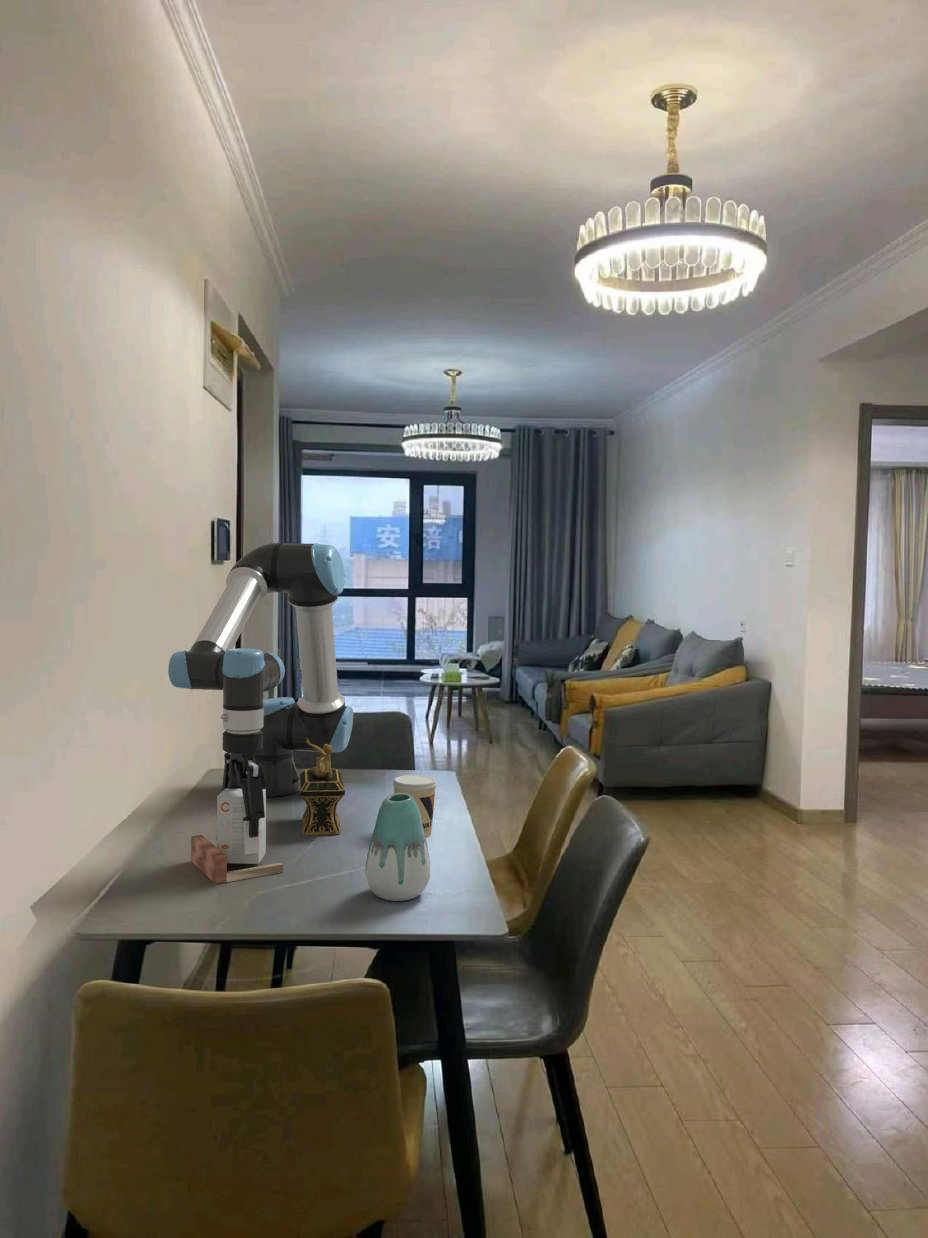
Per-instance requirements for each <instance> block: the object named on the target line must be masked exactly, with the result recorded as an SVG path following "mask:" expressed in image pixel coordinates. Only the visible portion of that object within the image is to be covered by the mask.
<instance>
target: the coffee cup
mask: <svg viewBox="0 0 928 1238" xmlns="http://www.w3.org/2000/svg"><path fill="white" fill-rule="evenodd" d="M392 785H393V794H396V793H407V794H410V795H411V796H412V797H413V799H414V800H415V802H416V804H417V806H418V808H419V812H420V815H421V820H422V825H423V830H424V834H425V837H426V839H427V838H430V837H431V835H432V829H433V821H434V819H433V817H434V811H435V810H434V809H435V807H434V806H435V796H436V787H437V782H436V780H435V778H434V777H432V776H428V775H421V774H405V775H400V776H397V777H395V778H394V781H393V782H392Z"/></svg>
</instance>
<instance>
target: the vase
mask: <svg viewBox="0 0 928 1238" xmlns="http://www.w3.org/2000/svg"><path fill="white" fill-rule="evenodd" d="M375 821H376V822H375V826H374V829H373V832H372V835H371V839H370V844H369V847H368V850H367V853H366V857H365V858H366V859H365V869H364V871H365V872H364V873H365V874H364V875H365V880H366V884H367V885H368V888H369V889H370V890H371V892H372V893H373V894H374V895H375V896H377V898H380V899H383V900H385V901H390V902H404V901H409V900H413V899H415V898H417V897H418V896H420V895H421V894H422V893H423V892H424V891H425V889H426V888H427V885H429V884H428V883H429V881H430V878H431V859H430V858H431V857H430V853H429V847H428V841H427V838H426V837H425V834H424V830H423V825H422V820H421V815H420V812H419V808H418V806H417V804H416V802H415V800H414V799H413V797H412V796H411V795H410V794H407V793H396V794H394V793H392V794H389V795H388V796H386V797H385V798H384V799H383V800H382V803H381V804H380V807H379V809H378V814H377V817H376V820H375Z"/></svg>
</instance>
